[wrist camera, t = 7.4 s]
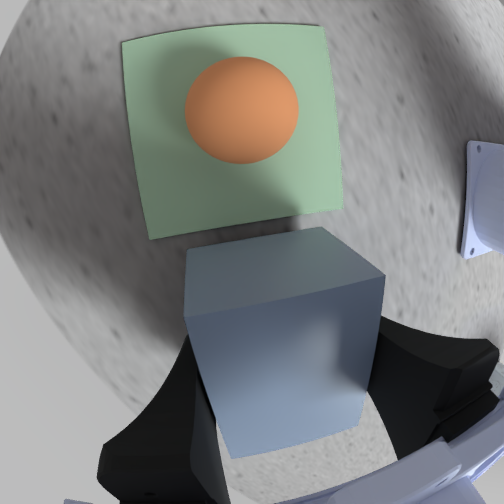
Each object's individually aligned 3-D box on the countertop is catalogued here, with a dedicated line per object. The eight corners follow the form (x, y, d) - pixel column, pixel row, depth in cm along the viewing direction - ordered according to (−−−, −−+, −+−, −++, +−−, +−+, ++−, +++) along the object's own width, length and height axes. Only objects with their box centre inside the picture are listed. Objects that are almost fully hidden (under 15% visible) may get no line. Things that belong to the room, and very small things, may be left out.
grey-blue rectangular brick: (321, 226, 13) (385, 275, 8) (320, 359, 16) (357, 425, 11) (186, 249, 12) (183, 317, 7) (219, 382, 15) (231, 459, 10)
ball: (325, 81, 7) (307, 178, 11) (281, 41, 9) (276, 119, 13) (179, 95, 7) (198, 196, 10) (176, 51, 9) (188, 132, 12)
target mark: (322, 28, 10) (323, 26, 10) (341, 207, 14) (343, 208, 14) (123, 44, 9) (122, 42, 9) (150, 238, 13) (149, 240, 12)
